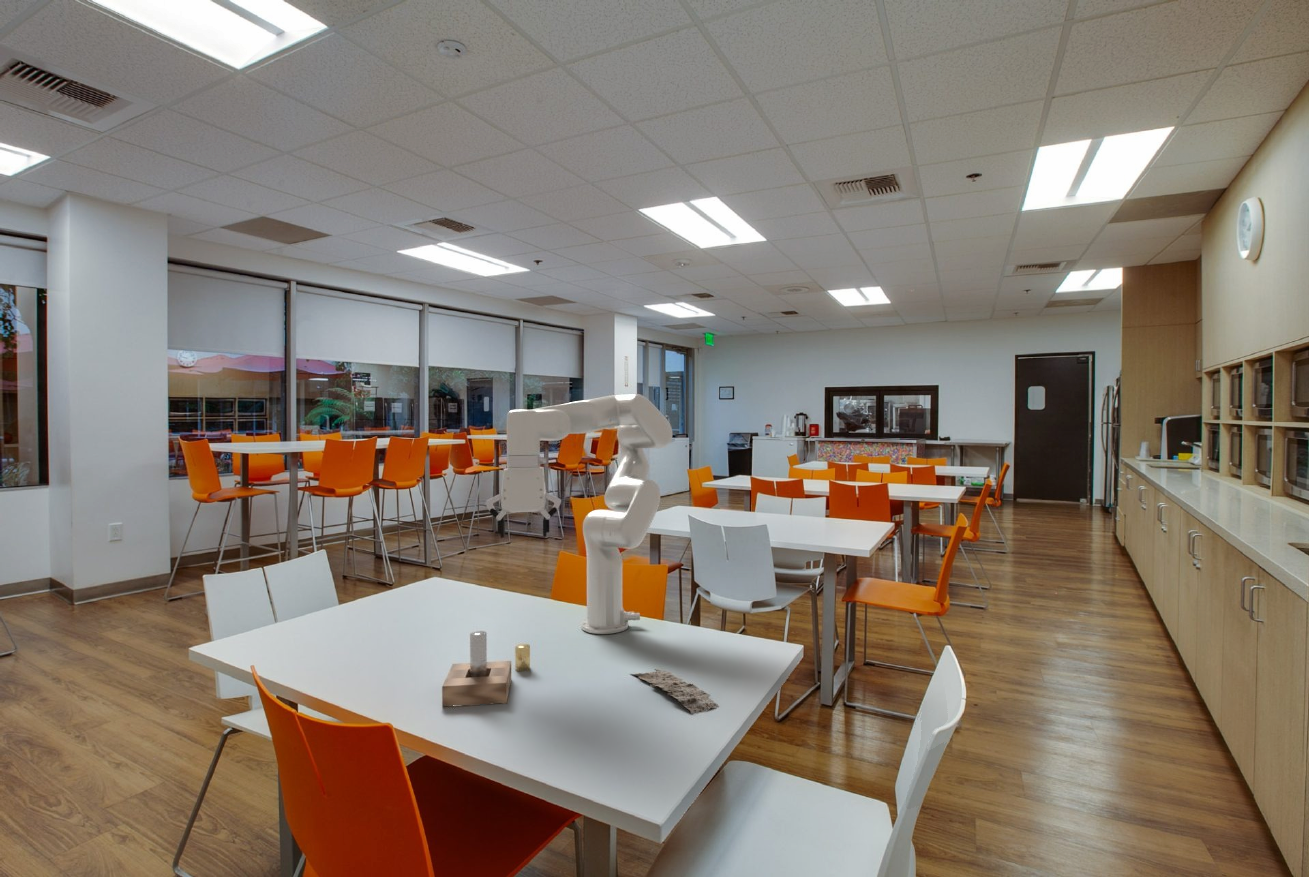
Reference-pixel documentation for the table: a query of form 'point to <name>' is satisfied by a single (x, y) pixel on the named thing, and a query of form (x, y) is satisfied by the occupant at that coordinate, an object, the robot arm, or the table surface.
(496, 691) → the socket block
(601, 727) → the table surface
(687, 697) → the stone fragment
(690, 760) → the table surface
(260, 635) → the table surface
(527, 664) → the short pin
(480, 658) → the long pin
